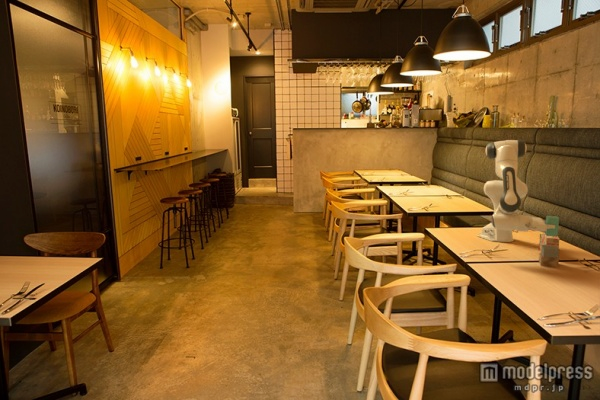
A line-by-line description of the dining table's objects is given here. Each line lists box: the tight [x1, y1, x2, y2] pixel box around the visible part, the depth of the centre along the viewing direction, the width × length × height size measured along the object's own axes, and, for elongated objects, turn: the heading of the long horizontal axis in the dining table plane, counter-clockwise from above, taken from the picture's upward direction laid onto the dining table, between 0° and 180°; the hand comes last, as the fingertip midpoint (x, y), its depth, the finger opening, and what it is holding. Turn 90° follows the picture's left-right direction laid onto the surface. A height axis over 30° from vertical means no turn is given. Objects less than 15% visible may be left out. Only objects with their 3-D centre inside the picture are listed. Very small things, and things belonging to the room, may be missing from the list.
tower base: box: [538, 252, 560, 268], centre depth 225 cm, size 8×8×5 cm
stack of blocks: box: [538, 232, 560, 252], centre depth 244 cm, size 21×6×12 cm, turn 159°
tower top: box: [540, 245, 560, 259], centre depth 224 cm, size 7×7×5 cm
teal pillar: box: [544, 215, 560, 237], centre depth 222 cm, size 5×5×10 cm
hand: (553, 225), depth 222 cm, fingers closed on teal pillar, 5 cm apart
